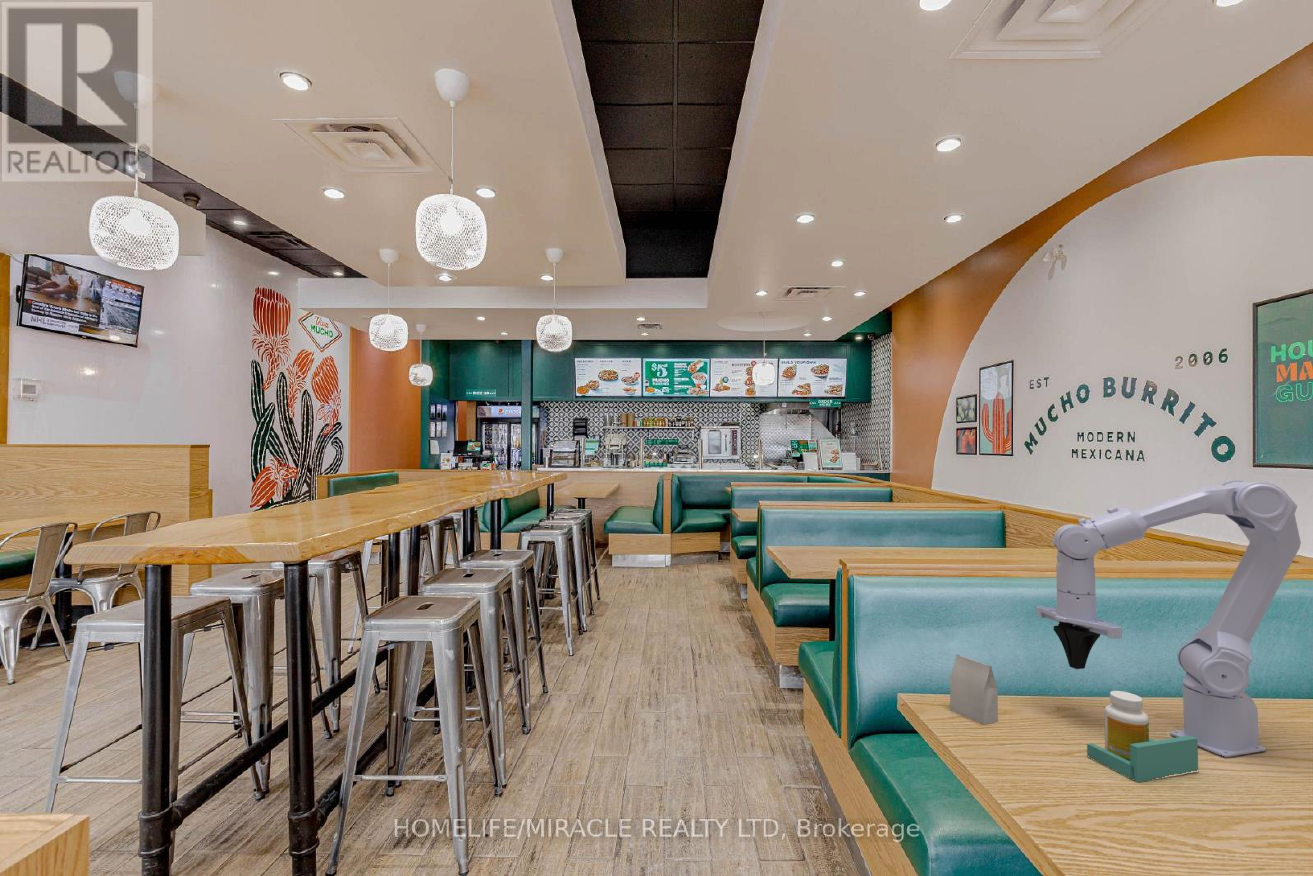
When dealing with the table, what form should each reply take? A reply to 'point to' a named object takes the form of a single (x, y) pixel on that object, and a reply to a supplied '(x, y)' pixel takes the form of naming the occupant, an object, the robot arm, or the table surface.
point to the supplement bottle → (1125, 723)
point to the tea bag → (973, 691)
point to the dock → (1151, 758)
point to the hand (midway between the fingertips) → (1077, 667)
